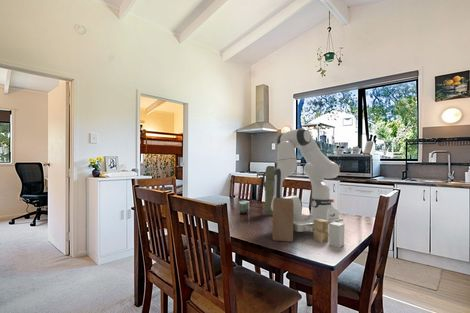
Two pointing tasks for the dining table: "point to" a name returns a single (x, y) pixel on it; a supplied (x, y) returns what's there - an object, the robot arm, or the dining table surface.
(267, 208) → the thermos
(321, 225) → the oak block
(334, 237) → the grey block
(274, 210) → the block
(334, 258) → the dining table surface
